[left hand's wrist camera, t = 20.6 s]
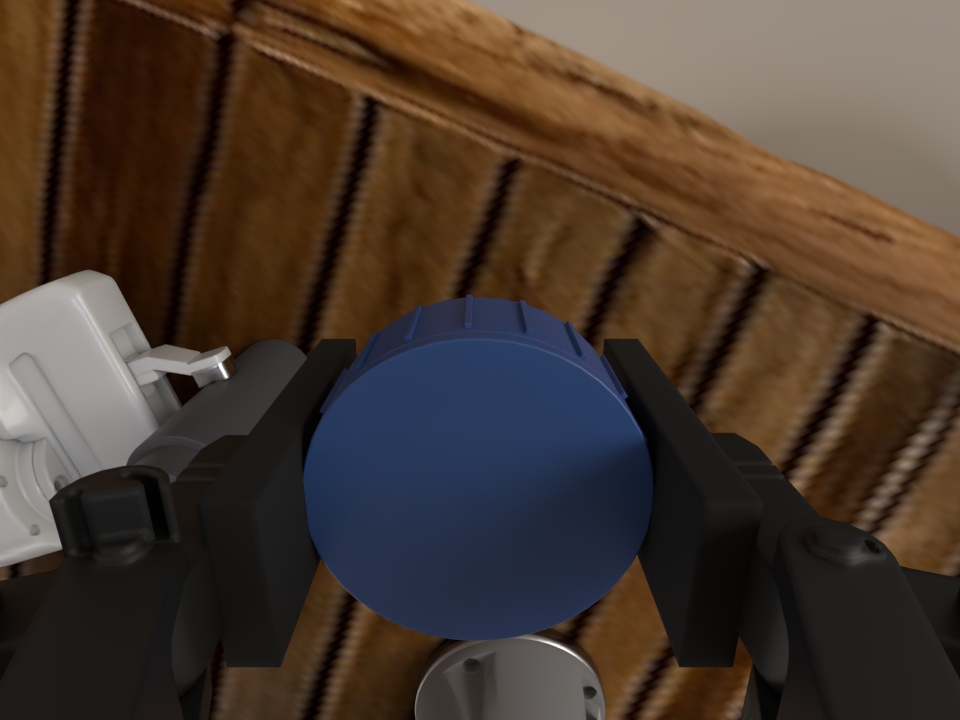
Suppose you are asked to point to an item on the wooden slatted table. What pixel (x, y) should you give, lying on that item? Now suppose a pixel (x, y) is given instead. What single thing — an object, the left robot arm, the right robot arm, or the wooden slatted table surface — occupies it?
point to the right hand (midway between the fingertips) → (254, 410)
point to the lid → (478, 472)
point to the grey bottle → (222, 407)
